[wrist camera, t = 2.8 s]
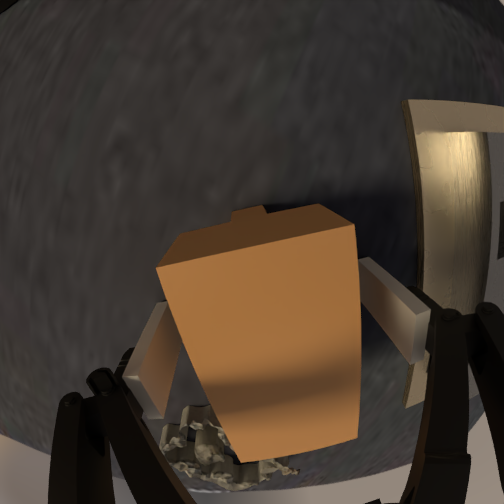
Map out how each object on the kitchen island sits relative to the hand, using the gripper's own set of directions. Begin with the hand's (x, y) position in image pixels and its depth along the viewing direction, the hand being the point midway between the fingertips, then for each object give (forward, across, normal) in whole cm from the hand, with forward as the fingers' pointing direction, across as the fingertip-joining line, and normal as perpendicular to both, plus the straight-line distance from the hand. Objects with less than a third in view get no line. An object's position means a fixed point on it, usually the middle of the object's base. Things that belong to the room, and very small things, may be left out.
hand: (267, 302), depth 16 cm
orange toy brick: (0, 0, 0) cm, 0 cm away
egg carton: (+1, -6, -13) cm, 14 cm away
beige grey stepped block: (0, +15, -2) cm, 15 cm away
